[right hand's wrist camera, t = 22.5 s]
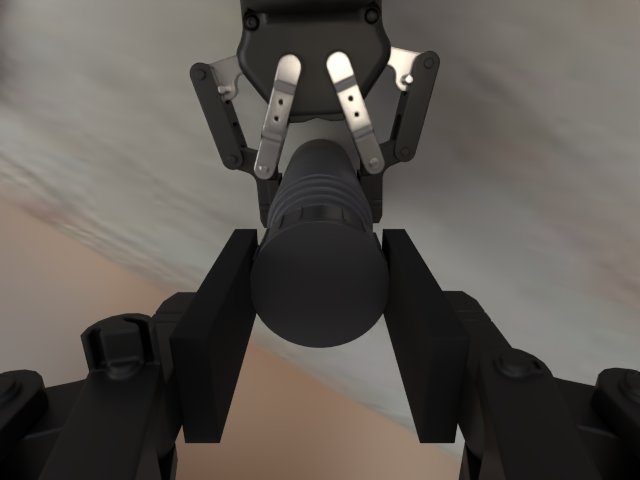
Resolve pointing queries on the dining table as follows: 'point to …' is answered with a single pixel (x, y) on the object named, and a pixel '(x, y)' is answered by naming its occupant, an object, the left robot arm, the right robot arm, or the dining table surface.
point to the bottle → (320, 183)
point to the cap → (319, 277)
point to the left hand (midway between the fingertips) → (322, 229)
